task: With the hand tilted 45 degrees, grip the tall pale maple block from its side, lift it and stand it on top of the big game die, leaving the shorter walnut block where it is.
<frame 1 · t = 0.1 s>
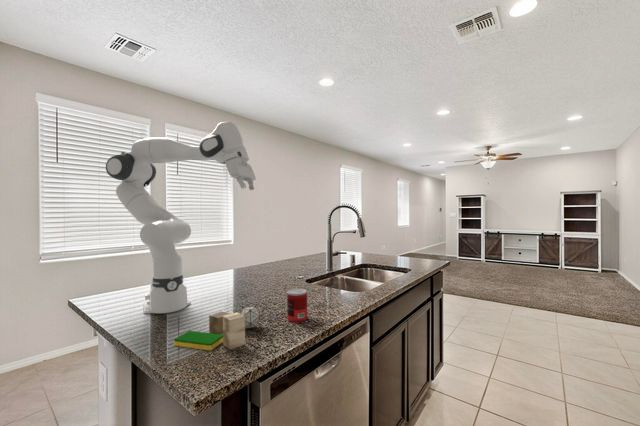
hand: (248, 189, 124), 52 cm above the worktop, tool tilted 20°, fingers open, 8 cm apart
walnut block: (219, 331, 103), on the worktop
maple block: (234, 344, 93), on the worktop
game die: (249, 328, 105), on the worktop
canned food: (297, 319, 114), on the worktop
dish sponge: (199, 344, 94), on the worktop
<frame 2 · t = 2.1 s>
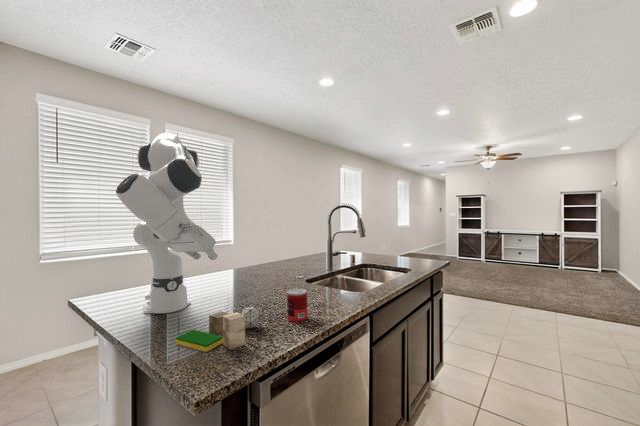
hand: (206, 258, 87), 28 cm above the worktop, tool tilted 45°, fingers open, 8 cm apart
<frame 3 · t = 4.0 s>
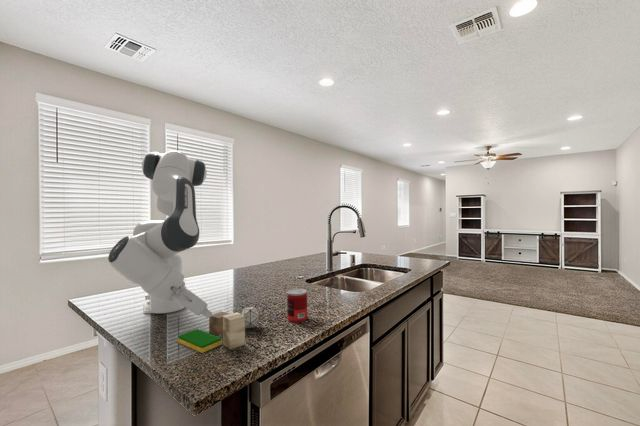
hand: (203, 311, 86), 13 cm above the worktop, tool tilted 45°, fingers open, 8 cm apart
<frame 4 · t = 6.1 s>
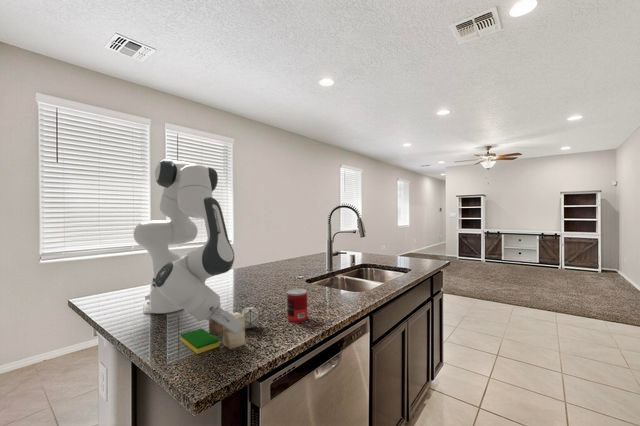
hand: (235, 328, 93), 5 cm above the worktop, tool tilted 45°, fingers closed on maple block, 5 cm apart
maple block: (234, 344, 93), on the worktop, touching gripper
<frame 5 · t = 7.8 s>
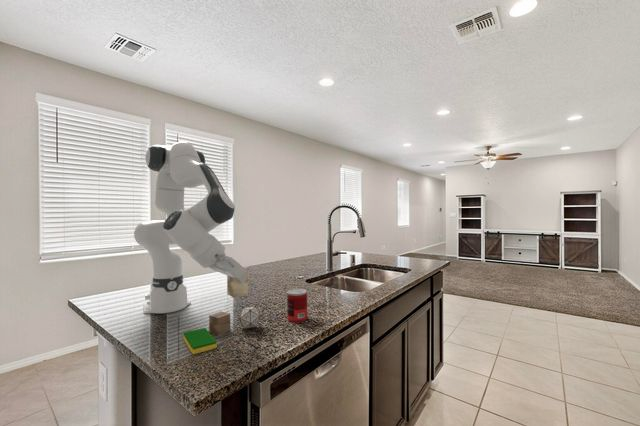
hand: (239, 279, 97), 20 cm above the worktop, tool tilted 45°, fingers closed on maple block, 5 cm apart
maple block: (237, 294, 97), point 15 cm above the worktop, touching gripper
when the fingers open (14 cm above the worktop, at t = 9.8 s): maple block drops 2 cm, resting on game die.
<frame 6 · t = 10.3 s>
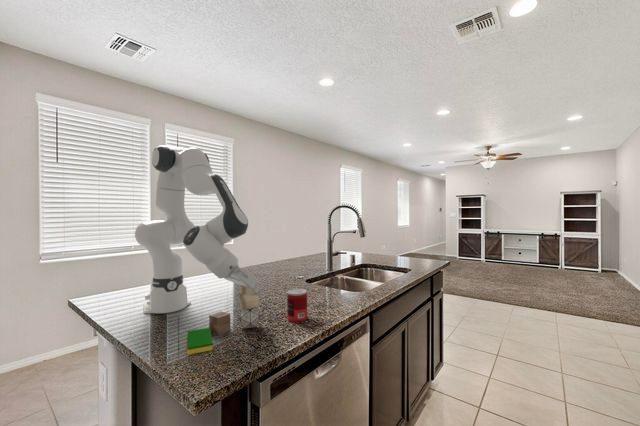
hand: (250, 288, 106), 14 cm above the worktop, tool tilted 45°, fingers open, 8 cm apart
maple block: (249, 306, 106), point 8 cm above the worktop, touching game die
game die: (249, 328, 105), on the worktop, touching maple block
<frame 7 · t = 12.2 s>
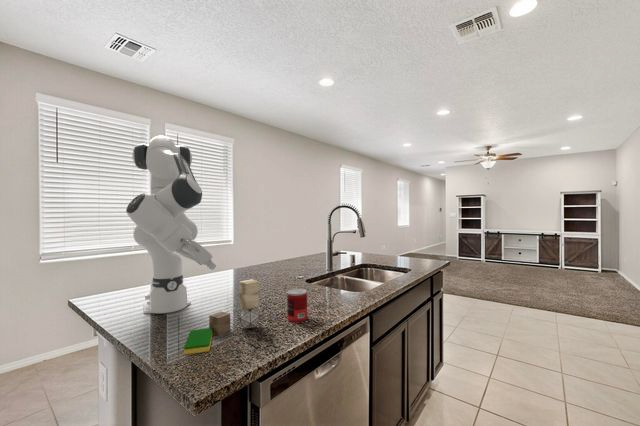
hand: (207, 265, 97), 24 cm above the worktop, tool tilted 45°, fingers open, 8 cm apart
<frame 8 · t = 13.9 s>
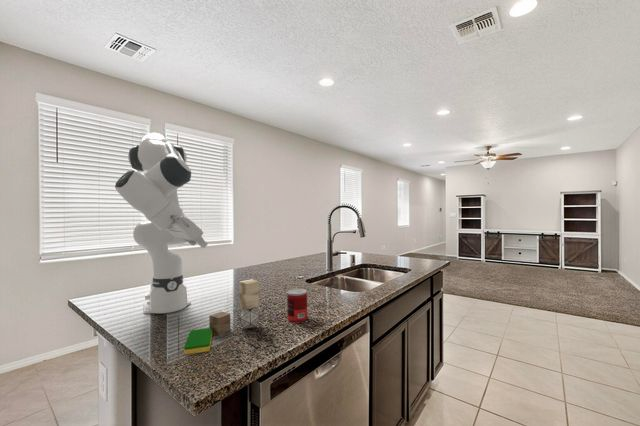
hand: (199, 244, 97), 31 cm above the worktop, tool tilted 45°, fingers open, 8 cm apart
at the end: maple block inside the target area on the game die (0.1 cm from its centre), point 8.2 cm above the game die's base; maple block tilted 0°; the gripper is holding nothing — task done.
